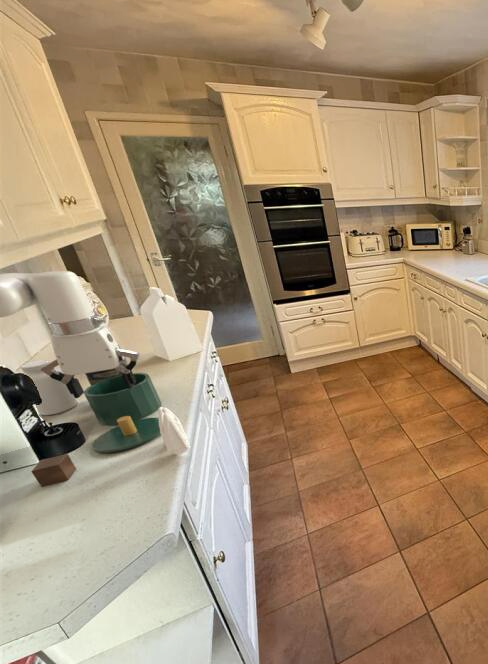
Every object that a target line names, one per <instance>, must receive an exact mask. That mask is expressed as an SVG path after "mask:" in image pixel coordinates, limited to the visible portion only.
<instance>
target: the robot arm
mask: <svg viewBox="0 0 488 664" xmlns="http://www.w3.org/2000/svg"><path fill="white" fill-rule="evenodd" d="M35 305H39V308H40V310H41V312H42V313H43V316H44V317H45V320H46V321H47V324H48V326H49V328H50V330H51V332H52V334H51V335H50V341H51V346H52V349H53V353H54V356H55V359H53V360H52V361H51V362H49V364H47V365H45V366H44V367H42V368H41V371H42V372H44V373H45V374H47V375H49V376H50V377H51V378H52V379H55V380H58V381H60V382H61V383H62V384H66V386H67V388H68V390H69V392H70V394H73V395H74V397H75V398H76V399H79V398H80V397H82V396H83V395H84V391H85V390H84V389H83V387H82V385H81V383H80V381H79V379H78V378H76V377H75V376H77V375H84V374H85V373H91V372H97V371H103V370H109V369H116V370H118V371H120V372H123V374H122V378H123V380H124V382H125V384H126V387H127V388H128V389H131V388H132V387H133V386H134V384H135V383H136V379H135V377H134V375H133V373H134V372H133V370H134V368H135V366H137V364H138V363H139V359H140V355H141V354H140V353H139V352H137V351H133V350H132V351H131V350H127V349H122V348H121V347H120V345H119V344H118V343H117V341H116V339H115V338H114V336H113V334H112V333H111V332H110V331H109V329H108V328H107V327H106V325H105V326H104V325H103V324H106V323H107V320H106V318H105V317H98V316H97V314H95V312H94V310H93V308H92V305H91V302H90V301H89V299H88V296H87V294H86V292H85V289H84V287H83V284H82V283H81V280H80V278H79V277H78V275H77V274H76V273H75V272H72V271H70V270H54V271H53V270H52V271H43V272H37V273H31V272H29V273H25V272H22V273H21V272H7V273H5V272H4V273H0V318H6V317H10V316H12V315H14V314H16V313H18V312H20V311H22V310H24V309H26V308H30V307H32V306H35ZM118 345H119V346H118ZM119 347H120V348H119ZM124 357H125V358H129V359H130V361H129V363H128V362H127V363H128V364H127V363H125V362H123V361H124ZM57 367H59V368H60V371H61V372H62V373H61V372H57V371H56V370H55V369H54V368H57Z"/></svg>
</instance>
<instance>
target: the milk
mask: <svg viewBox="0 0 488 664" xmlns="http://www.w3.org/2000/svg"><path fill="white" fill-rule="evenodd" d="M148 291H149V296H147V298H146V300H144V302H143V303H142V305H141V306H140V308H139V312H140V316H141V318H142V321H143V324H144V326H145V330H146V332H147V335H148V338H149V341H150V344H151V346H152V349H153V352H154V354H155V356H157V357H159V358H162V359H163V360H166V361H169V362H172V361H175V360H178V359H181V358H185V357H187V356H190V355H194V354H197V353H200V352H203V351H205V349H204V346H203V344H202V341H201V340H200V337H199V335H198V333H197V330H196V328H195V326H194V323H193V320H192V318H191V316H190V314H189V311H188V310H187V307H186V306H185V305H184V304H183V303H181V302H179V301H177V300H175V298H174V297H173V296H170V295H168V294H164V292H163V291H162V289H161V288H160V287H155V286H151V287H150V286H149V287H148Z"/></svg>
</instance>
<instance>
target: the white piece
mask: <svg viewBox="0 0 488 664" xmlns="http://www.w3.org/2000/svg"><path fill="white" fill-rule="evenodd" d="M157 418H158V419H159V427H160V436H161V439H162V441H163V443H164V446H165V448H166V451H167V453H168V454H169V455H176V456H180V455H182V454H184V453H186V452H187V451H189V450H190V448H191V446H190V443H189V440H188V437H187V434H186V432H185V430H184V428H183V425H182V423H181V421H180V419H179V418H178V416H177V415H175V414H174V413H173V412H172V411H171V410H170V409H168V408H167V407H163V406H161V407H159V408H158V410H157Z"/></svg>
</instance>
